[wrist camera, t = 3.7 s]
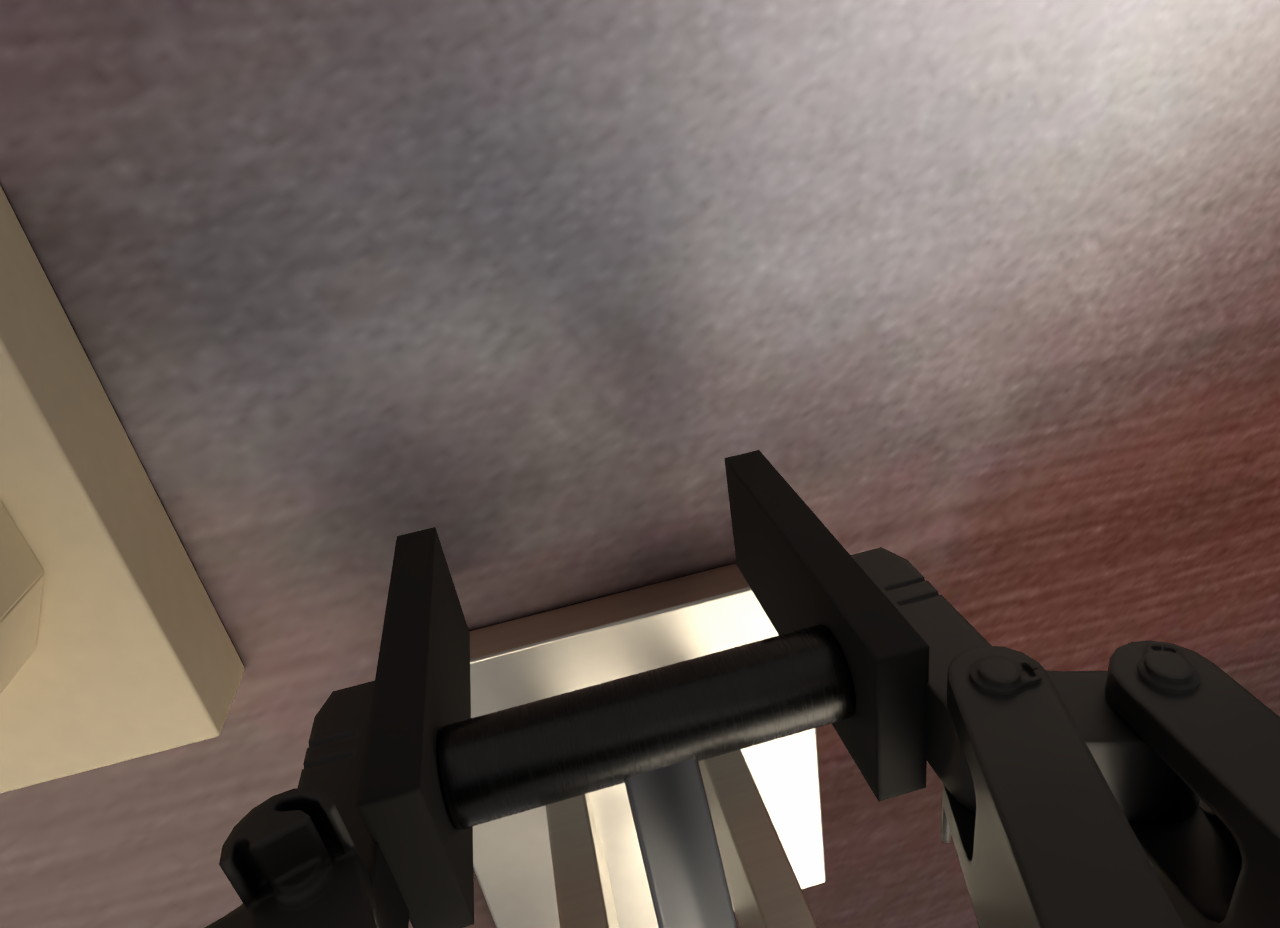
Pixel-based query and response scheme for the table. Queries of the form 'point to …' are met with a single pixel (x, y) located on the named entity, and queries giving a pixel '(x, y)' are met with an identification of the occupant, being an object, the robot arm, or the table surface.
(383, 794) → the robot arm
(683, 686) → the lever
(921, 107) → the table surface
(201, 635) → the control block
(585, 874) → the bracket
